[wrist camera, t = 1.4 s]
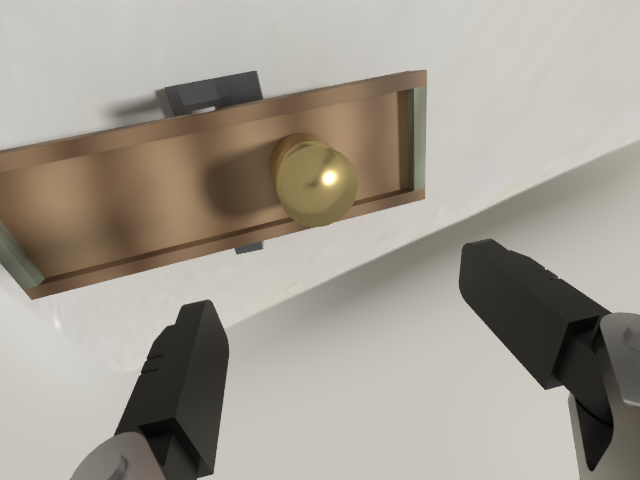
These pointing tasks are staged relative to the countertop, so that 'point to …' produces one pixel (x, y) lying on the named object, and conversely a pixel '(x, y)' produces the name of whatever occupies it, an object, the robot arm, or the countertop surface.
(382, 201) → the beam
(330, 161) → the cylinder
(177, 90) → the pivot stand
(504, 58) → the countertop surface
